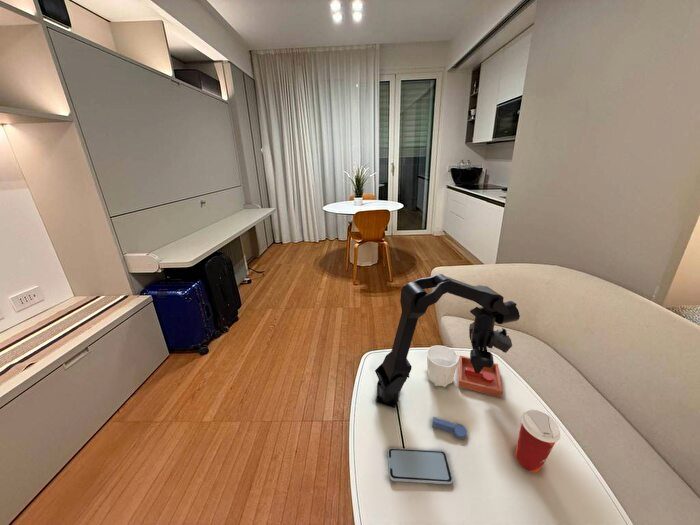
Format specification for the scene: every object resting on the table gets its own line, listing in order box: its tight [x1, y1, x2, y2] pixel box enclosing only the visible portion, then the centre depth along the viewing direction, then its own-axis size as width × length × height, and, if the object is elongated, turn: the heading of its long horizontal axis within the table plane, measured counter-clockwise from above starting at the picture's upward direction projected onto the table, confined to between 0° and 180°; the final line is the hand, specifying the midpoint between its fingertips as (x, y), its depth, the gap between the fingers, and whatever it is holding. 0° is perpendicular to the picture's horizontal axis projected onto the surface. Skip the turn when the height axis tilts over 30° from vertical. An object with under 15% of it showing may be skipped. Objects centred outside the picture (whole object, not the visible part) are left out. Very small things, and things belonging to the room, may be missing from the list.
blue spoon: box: [431, 416, 468, 440], centre depth 75 cm, size 9×4×2 cm, turn 68°
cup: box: [426, 344, 459, 388], centre depth 91 cm, size 10×10×10 cm
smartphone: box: [387, 447, 453, 485], centre depth 67 cm, size 7×1×15 cm
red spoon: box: [465, 367, 494, 383], centre depth 91 cm, size 9×4×2 cm, turn 68°
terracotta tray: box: [457, 355, 503, 398], centre depth 92 cm, size 13×13×3 cm
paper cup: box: [514, 409, 561, 473], centre depth 65 cm, size 8×8×14 cm
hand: (476, 363), depth 90 cm, fingers open, 9 cm apart
